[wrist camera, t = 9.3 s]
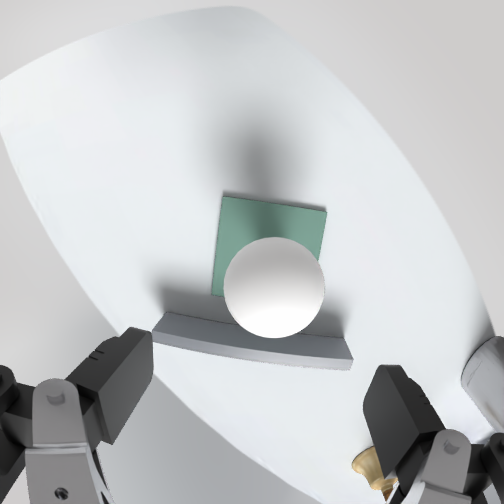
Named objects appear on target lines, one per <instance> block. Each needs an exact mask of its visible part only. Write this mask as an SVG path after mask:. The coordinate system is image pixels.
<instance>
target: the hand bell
mask: <svg viewBox="0 0 504 504" xmlns="http://www.w3.org/2000/svg"><path fill="white" fill-rule="evenodd" d="M352 468H353V470H354V471H355V472H357V473H359V474H362V475H364V476H365V478H366V479H367V481H368V483H369V485H370V487H371V488H372V489H374V490H381V491H382V493H383V496H384V498H385V501H386V502H387V500H388V498H389V496H390V494H391V493H392V491H393V484H394V483H396V482H397V481H398V478H392V479H386V480H384V477H383V473H382V470H381V466H380V463H379V460H378V456H377V453H376V450H375V447H374V446H373V447H371V448H369V449H367V450H365V451H364V452H362V453H361V454H359V455H358V456H357V457H356V458H355V459H354V461H353V463H352Z"/></svg>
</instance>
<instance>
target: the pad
mask: <svg viewBox="0 0 504 504" xmlns="http://www.w3.org/2000/svg"><path fill="white" fill-rule="evenodd" d="M326 216H327V212H324V211H318V210H312V209H306V208H300V207H294V206H288V205H281V204H275V203H268V202H262V201H255V200H248V199H240V198H233V197H225V196H223V199H222V207H221V215H220V223H219V231H218V240H217V248H216V257H215V266H214V276H213V286H212V295H216V296H222V297H225V296H224V289H223V288H224V278H225V274H226V270H227V268H228V266H229V264H230V262H231V260H232V259H233V258H234V256H235V255H236V254H237V253H238V252H239V251H240V250H241V249H242V248H243V247H245V246H246V245H248V244H250V243H252V242H253V241H256V240H259V239H263V238H269V237H280V238H286V239H290V240H293V241H295V242H297V243H299V244H301V245H303V246H304V247H305V248H306V249H308V250H309V251H310V252H311V253H312V254H313V256H314V257H315V258H316V260H317V261H318V260H319V254H320V249H321V244H322V239H323V233H324V228H325V222H326Z"/></svg>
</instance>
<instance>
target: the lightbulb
mask: <svg viewBox="0 0 504 504" xmlns="http://www.w3.org/2000/svg"><path fill="white" fill-rule="evenodd" d="M223 289H224V296H225V302H226V304H227V307H228V310H229V311H230V313H231V314H232V316H233V318H234V319H235V320H236V321H237V322H238V323H239V325H240V326H242V327H243V328H244V329H246V330H247V331H249V332H251V333H253V334H255V335H258V336H262V337H267V338H280V337H286V336H290V335H293V334H295V333H297V332H299V331H301V330H302V329H304V328H305V327H306V326H308V325H309V323H310V322H311V321H312V320H313V319H314V318H315V316H316V315H317V313H318V311H319V310H320V307H321V305H322V302H323V298H324V292H325V283H324V276H323V272H322V269H321V267H320V265H319V263H318V261H317V260H316V258H315V257H314V256H313V254H312V253H311V252H310V251H309V250H308V249H306V248H305V247H304V246H303V245H301V244H299V243H297V242H295V241H293V240H290V239H286V238H280V237H269V238H263V239H259V240H256V241H253V242H252V243H250V244H248V245H246V246H245V247H243V248H242V249H241V250H240V251H239V252H238V253H237V254H236V255H235V256H234V258H233V259H232V260H231V262H230V264H229V266H228V268H227V270H226V274H225V278H224V288H223Z"/></svg>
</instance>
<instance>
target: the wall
mask: <svg viewBox="0 0 504 504" xmlns="http://www.w3.org/2000/svg"><path fill="white" fill-rule="evenodd" d="M152 340H153V342H156V343H160V344H164V345H169V346H173V347H178V348H182V349H187V350H192V351H197V352H202V353H207V354H213V355H218V356H224V357H230V358H236V359H242V360H249V361H256V362H263V363H271V364H279V365H288V366H297V367H308V368H320V369H334V370H350V368H351V366H352V363H353V357H352V355H351V353H350V350H349V348H348V346H347V344H346V341H345V339H344V338H337V337H326V336H316V335H307V334H298V333H295V334H293V335H290V336H286V337H280V338H267V337H262V336H258V335H255V334H253V333H251V332H249V331H247V330H246V329H244V328H243V327H242V326H240V325H234V324H228V323H222V322H216V321H211V320H205V319H200V318H194V317H189V316H184V315H179V314H174V313H169V312H166V313H165V314H164V315H163V317H162V318H161V319H160V321H159V322H158V323H157V324H156V326H155V327H154V328H153V330H152Z"/></svg>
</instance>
